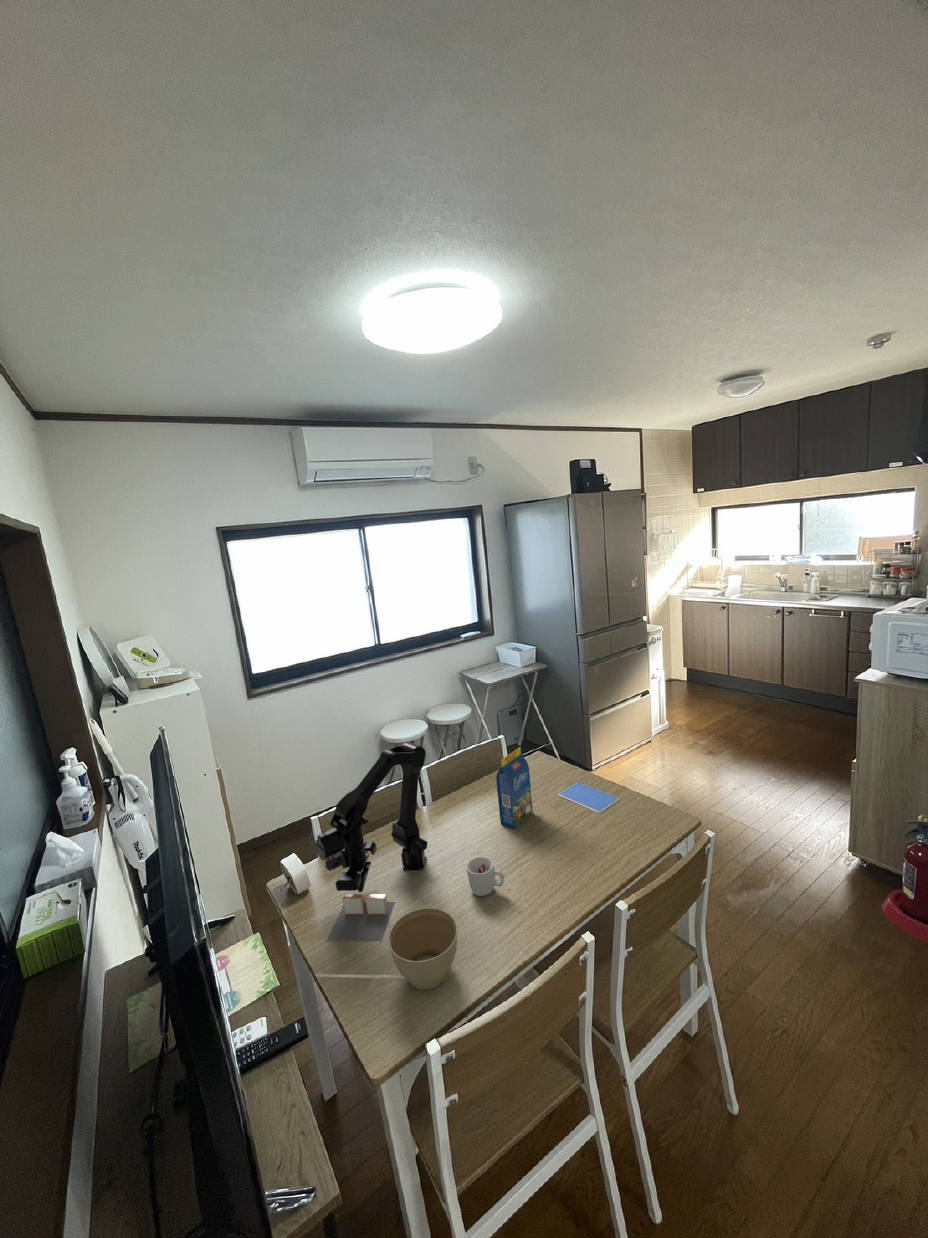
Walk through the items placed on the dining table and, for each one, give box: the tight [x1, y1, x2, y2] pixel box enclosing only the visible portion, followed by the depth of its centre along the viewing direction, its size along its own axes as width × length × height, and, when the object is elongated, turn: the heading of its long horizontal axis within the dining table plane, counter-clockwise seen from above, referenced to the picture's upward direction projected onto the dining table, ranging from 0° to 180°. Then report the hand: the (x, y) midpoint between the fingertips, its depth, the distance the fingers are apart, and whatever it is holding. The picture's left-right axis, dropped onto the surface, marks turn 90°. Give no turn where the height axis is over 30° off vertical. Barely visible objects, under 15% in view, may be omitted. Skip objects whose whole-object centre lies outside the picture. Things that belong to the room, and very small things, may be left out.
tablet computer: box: [558, 782, 620, 814], centre depth 189 cm, size 19×13×1 cm, turn 40°
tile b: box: [342, 893, 366, 914], centre depth 141 cm, size 6×2×5 cm, turn 83°
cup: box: [465, 856, 505, 897], centre depth 144 cm, size 11×8×8 cm
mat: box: [326, 901, 396, 942], centre depth 138 cm, size 15×14×1 cm
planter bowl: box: [388, 907, 458, 991], centre depth 118 cm, size 16×16×11 cm
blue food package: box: [495, 746, 534, 830], centre depth 178 cm, size 6×12×25 cm, turn 141°
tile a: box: [364, 893, 388, 914], centre depth 140 cm, size 6×2×5 cm, turn 83°
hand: (360, 891), depth 146 cm, fingers closed
